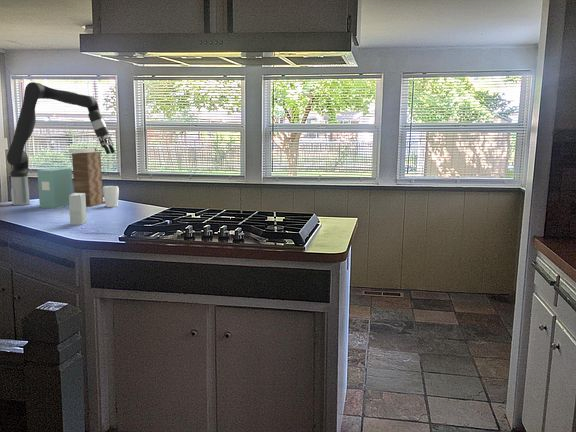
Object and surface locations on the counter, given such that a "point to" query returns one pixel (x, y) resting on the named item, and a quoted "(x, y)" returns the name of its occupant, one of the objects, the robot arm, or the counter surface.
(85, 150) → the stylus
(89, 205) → the stand
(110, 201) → the cup
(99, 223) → the counter surface
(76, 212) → the skincare box
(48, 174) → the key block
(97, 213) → the counter surface
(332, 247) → the counter surface
